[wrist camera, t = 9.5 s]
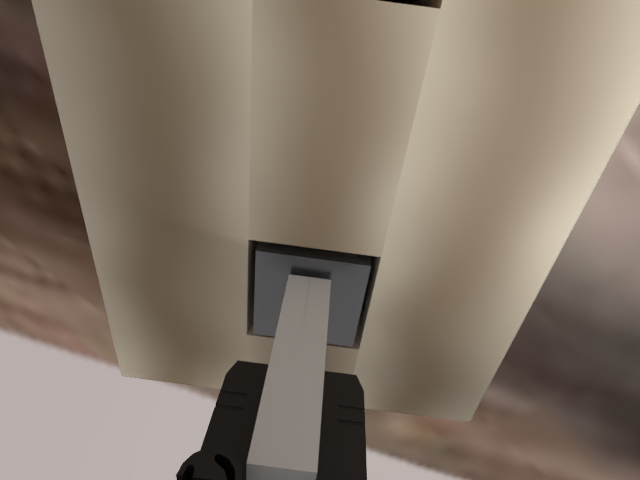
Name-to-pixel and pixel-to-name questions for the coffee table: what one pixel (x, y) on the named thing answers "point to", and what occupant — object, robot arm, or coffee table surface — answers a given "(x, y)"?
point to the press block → (337, 169)
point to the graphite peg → (317, 263)
